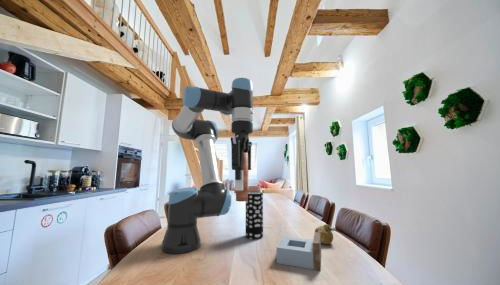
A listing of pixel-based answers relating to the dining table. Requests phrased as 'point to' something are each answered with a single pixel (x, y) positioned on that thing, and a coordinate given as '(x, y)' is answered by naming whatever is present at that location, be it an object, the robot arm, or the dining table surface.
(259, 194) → the white-spotted black cylinder
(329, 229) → the onion
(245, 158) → the dowel
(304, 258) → the socket block
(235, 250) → the dining table surface
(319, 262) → the walnut wall
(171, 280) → the dining table surface
